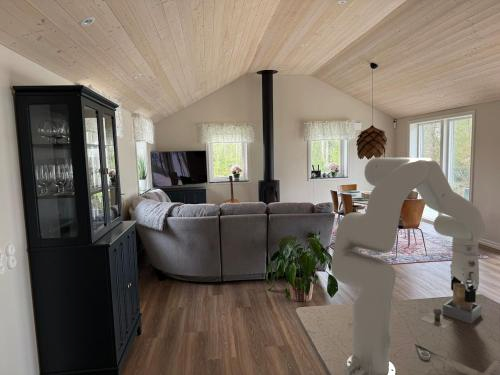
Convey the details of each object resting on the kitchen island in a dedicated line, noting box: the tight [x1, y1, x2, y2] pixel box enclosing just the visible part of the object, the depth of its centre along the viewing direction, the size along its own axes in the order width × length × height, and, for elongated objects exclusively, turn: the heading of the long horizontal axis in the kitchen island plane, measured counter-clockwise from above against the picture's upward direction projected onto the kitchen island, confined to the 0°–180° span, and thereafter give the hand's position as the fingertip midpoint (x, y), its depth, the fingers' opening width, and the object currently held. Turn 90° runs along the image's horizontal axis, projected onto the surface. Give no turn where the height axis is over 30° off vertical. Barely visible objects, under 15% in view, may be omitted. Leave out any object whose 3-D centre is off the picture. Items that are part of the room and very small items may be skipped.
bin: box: [442, 297, 482, 325], centre depth 123 cm, size 9×9×5 cm
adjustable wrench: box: [414, 343, 431, 361], centre depth 113 cm, size 25×6×2 cm, turn 163°
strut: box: [452, 282, 472, 312], centre depth 123 cm, size 4×4×11 cm
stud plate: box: [419, 307, 456, 329], centre depth 120 cm, size 8×8×6 cm
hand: (462, 295), depth 122 cm, fingers open, 9 cm apart
